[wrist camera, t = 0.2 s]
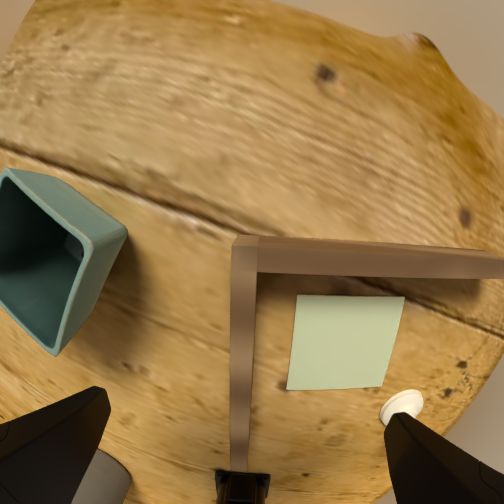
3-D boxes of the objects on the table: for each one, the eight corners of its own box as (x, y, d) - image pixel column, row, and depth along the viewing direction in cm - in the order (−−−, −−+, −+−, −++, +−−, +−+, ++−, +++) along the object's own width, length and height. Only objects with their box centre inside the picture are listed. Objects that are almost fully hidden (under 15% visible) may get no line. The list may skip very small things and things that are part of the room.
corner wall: (423, 429, 24) (435, 451, 21) (234, 442, 25) (230, 470, 21) (484, 250, 20) (511, 260, 16) (238, 234, 21) (231, 245, 17)
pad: (380, 384, 23) (381, 386, 23) (286, 388, 23) (286, 389, 23) (404, 296, 21) (405, 297, 21) (297, 294, 21) (297, 295, 21)
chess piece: (374, 426, 24) (400, 497, 15) (386, 392, 23) (423, 467, 14) (413, 419, 24) (445, 483, 14) (427, 386, 23) (470, 450, 13)
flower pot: (159, 221, 21) (94, 244, 12) (115, 308, 23) (55, 361, 14) (80, 166, 20) (2, 163, 11) (47, 252, 22) (-22, 279, 13)
